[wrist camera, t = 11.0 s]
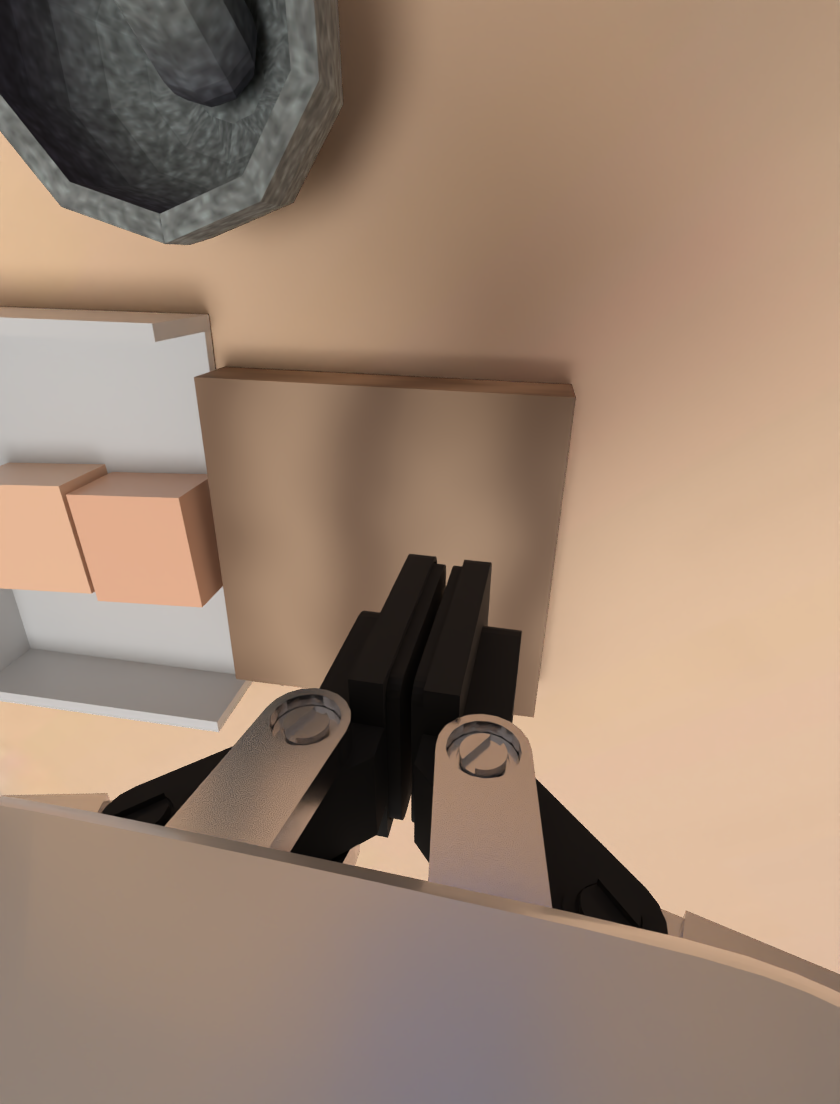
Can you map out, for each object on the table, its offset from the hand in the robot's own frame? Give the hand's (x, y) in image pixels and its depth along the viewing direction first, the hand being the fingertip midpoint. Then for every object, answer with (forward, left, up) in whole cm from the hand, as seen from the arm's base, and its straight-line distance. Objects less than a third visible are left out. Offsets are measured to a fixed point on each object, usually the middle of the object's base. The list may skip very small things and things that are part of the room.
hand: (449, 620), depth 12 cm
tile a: (+14, +5, -13) cm, 20 cm away
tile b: (+20, +5, -13) cm, 24 cm away
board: (+4, +5, -14) cm, 15 cm away
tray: (+18, +5, -14) cm, 23 cm away
